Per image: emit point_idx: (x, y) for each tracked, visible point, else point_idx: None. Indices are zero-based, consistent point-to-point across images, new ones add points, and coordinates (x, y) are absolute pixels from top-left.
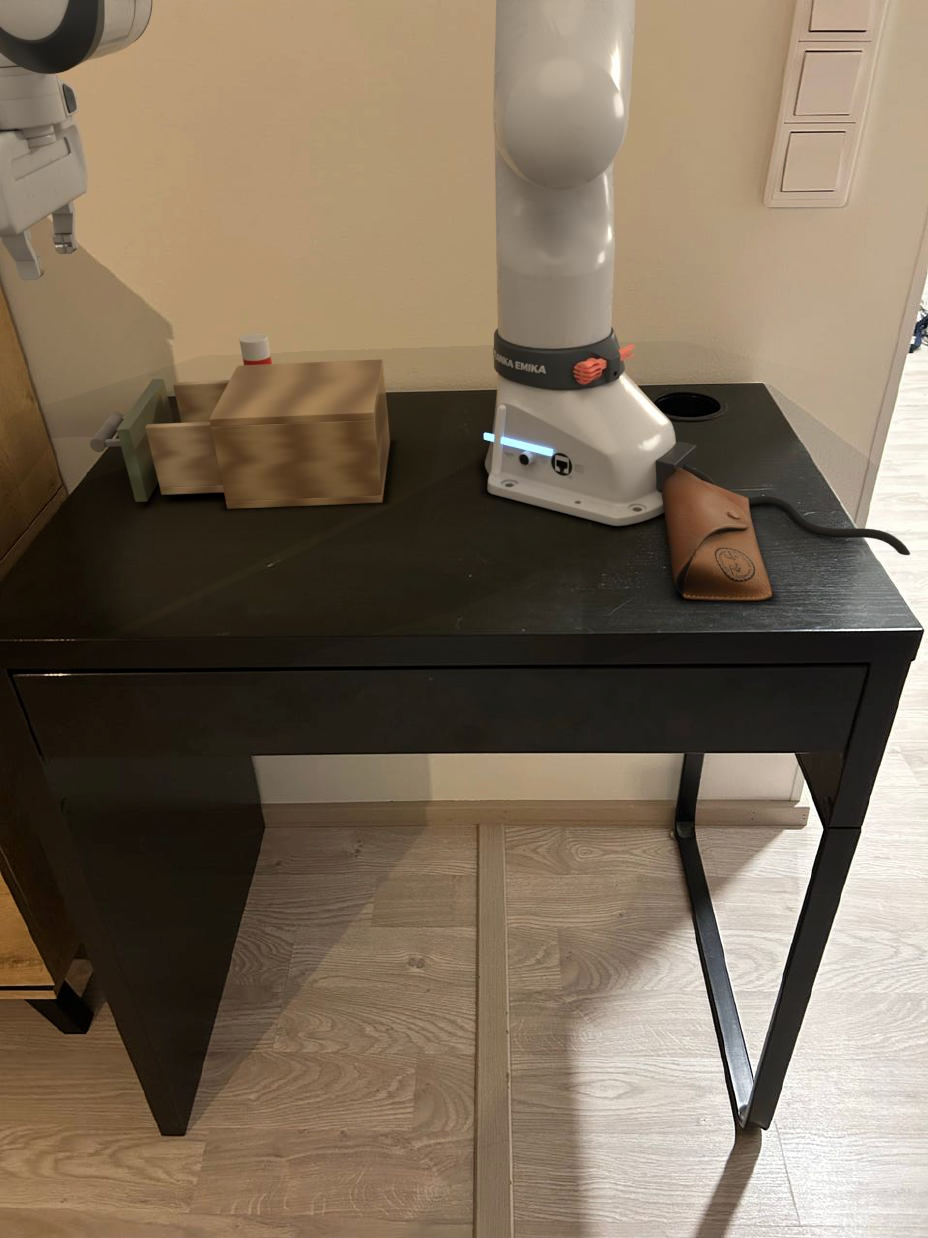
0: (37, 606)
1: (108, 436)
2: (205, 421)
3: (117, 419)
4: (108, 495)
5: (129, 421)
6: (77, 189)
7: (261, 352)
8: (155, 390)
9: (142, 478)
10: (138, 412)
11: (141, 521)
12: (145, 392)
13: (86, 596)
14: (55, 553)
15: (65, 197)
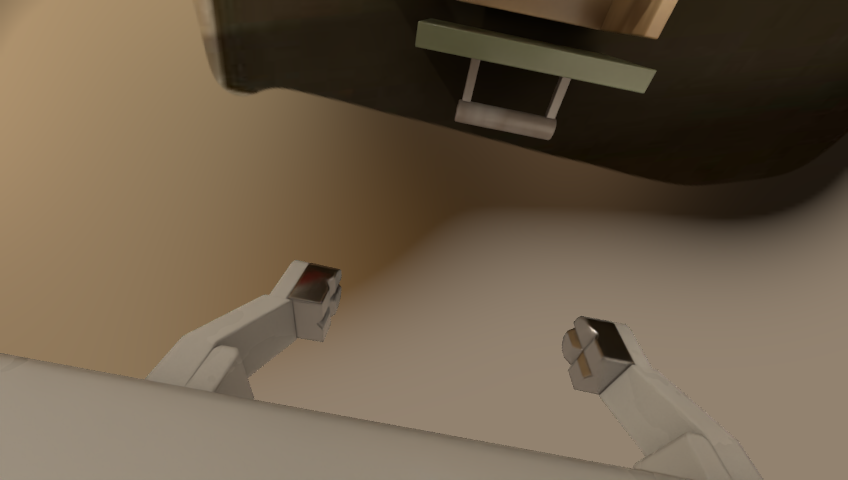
0: (757, 158)
1: (535, 115)
2: None
3: (481, 107)
4: None
5: (620, 72)
6: (83, 415)
7: None
8: (479, 34)
9: (614, 57)
10: (584, 59)
11: (629, 61)
12: (483, 55)
13: (780, 111)
14: (648, 155)
15: (309, 451)
